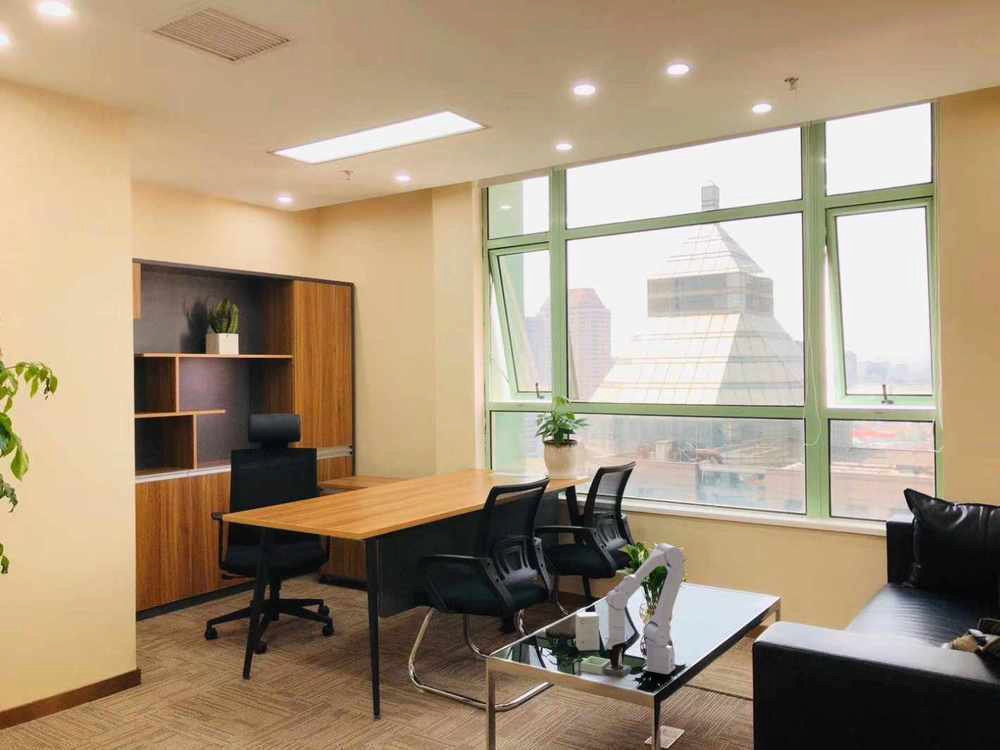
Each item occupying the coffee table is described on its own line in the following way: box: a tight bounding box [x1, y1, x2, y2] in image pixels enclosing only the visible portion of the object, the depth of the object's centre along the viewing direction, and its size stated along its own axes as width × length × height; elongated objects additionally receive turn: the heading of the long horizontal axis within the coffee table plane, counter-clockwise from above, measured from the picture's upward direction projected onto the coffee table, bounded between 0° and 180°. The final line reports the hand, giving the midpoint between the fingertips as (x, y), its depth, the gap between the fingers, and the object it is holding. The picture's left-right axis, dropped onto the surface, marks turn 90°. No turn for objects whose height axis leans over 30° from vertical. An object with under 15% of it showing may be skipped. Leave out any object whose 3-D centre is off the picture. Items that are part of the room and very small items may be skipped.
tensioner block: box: [603, 664, 631, 678], centre depth 287 cm, size 7×7×2 cm
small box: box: [575, 611, 600, 651], centre depth 316 cm, size 8×6×13 cm
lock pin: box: [613, 646, 623, 670], centre depth 287 cm, size 4×4×9 cm
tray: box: [580, 655, 611, 675], centre depth 291 cm, size 8×8×3 cm
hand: (617, 664), depth 287 cm, fingers closed on lock pin, 4 cm apart
